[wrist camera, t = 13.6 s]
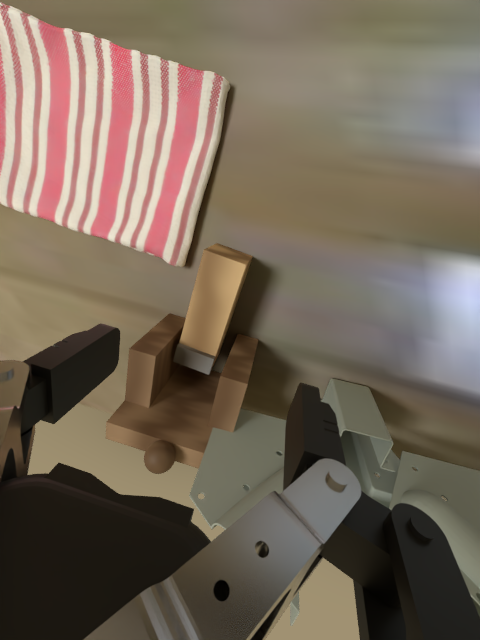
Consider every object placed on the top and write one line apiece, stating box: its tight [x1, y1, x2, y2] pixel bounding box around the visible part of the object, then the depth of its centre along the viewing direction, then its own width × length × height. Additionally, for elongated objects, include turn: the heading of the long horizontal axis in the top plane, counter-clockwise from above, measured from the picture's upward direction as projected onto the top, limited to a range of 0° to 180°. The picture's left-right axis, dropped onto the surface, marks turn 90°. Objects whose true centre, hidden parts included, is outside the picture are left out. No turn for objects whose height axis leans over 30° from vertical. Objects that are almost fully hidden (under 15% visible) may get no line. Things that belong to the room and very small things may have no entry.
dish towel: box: [0, 3, 230, 267], centre depth 27 cm, size 17×23×4 cm
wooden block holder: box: [106, 314, 258, 474], centre depth 28 cm, size 11×8×14 cm
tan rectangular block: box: [173, 243, 253, 375], centre depth 29 cm, size 4×12×6 cm, turn 162°
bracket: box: [189, 379, 480, 626], centre depth 24 cm, size 28×7×20 cm, turn 80°
